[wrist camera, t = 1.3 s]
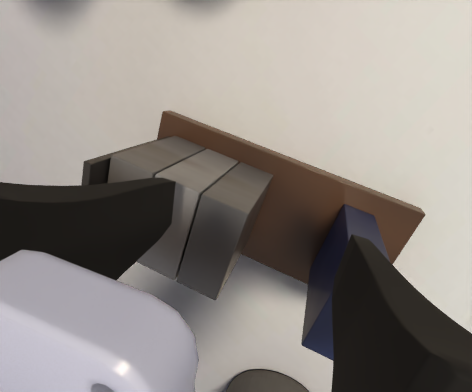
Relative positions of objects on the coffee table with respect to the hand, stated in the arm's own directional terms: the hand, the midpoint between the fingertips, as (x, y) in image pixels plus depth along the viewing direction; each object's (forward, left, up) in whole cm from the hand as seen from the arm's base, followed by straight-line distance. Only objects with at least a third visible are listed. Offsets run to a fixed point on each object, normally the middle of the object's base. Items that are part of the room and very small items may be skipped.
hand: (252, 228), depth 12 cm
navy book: (-3, -5, -9) cm, 11 cm away
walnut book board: (-3, 0, -10) cm, 10 cm away
